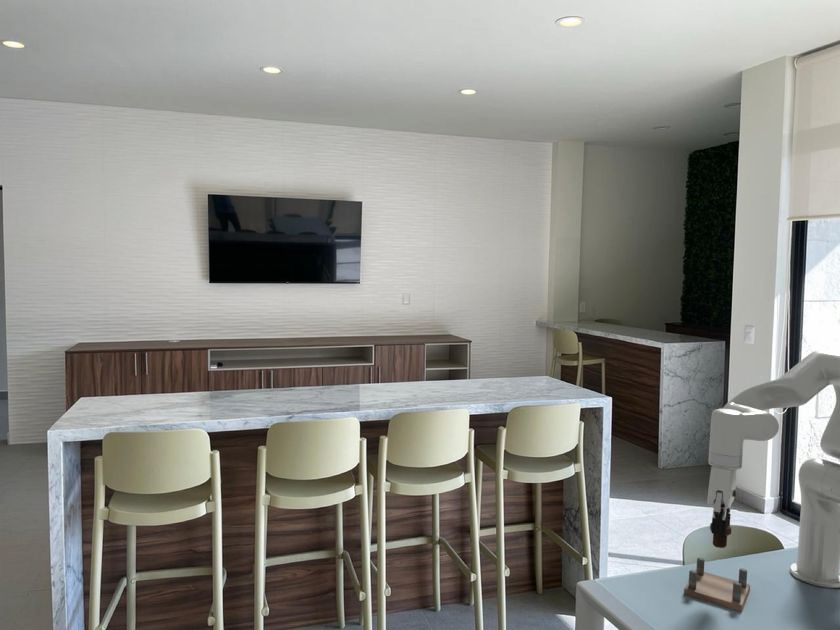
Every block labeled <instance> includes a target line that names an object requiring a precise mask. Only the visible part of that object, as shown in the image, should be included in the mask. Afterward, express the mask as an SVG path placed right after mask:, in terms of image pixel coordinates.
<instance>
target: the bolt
mask: <svg viewBox="0 0 840 630" xmlns="http://www.w3.org/2000/svg"><path fill="white" fill-rule="evenodd" d="M736 495H737V494H736V488H735V489H734V491H733V497H734V498H735V497H736ZM721 506H722V507H724V506H725V505H723V504H722V505H721ZM721 511H722V512H723V510H722V509H721ZM728 517H729V508H728V509H726V519H725V520H727V524H726V535H725V536H721V535H717V534H713V533H712V534H713V535H712V545H713V546H714V547H715V548H717V549H718V548H719V549H725V548H727V545H728V544H727V543H728V537H729V536H730V535H732V527H731V525H730V526H729V525H728ZM709 529H710V531H711V529H712V522H711V523H710V524H709Z"/></svg>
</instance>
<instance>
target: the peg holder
mask: <svg viewBox="0 0 840 630" xmlns="http://www.w3.org/2000/svg"><path fill="white" fill-rule="evenodd" d="M705 560H706V559H704V558H703V557H697V558H696V569H695V570H693V569H691V570H689V571H688V581H687V583H686V584H685V586H684V588H683V595H684V596H687V597H691V598H694V599H698V600H701V601H704V602H707V603H711V604H715V605H718V606H722V607H725V608H728V609H731V610H734V611H738V612H743V609H744V606H745V604H746V601H747V599H748V596H749V593H750V591H751V584H750V583H747V580H748V570H747V569H745V568H739V571H738V580H735V579H731V578H727V577H725V576H720V575H717V574H714V573H711V572H710V573H709V572H707V571H706V572H705Z"/></svg>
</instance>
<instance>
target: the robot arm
mask: <svg viewBox="0 0 840 630" xmlns="http://www.w3.org/2000/svg"><path fill="white" fill-rule="evenodd" d="M831 385H832V387H833V390H834V392H835V404H834V408H833V411H832V413H831V415H830V417H829V420H828V421H827V424H826V426H825V428H824V431H823V434H822V436H821V439H820V448H821V449H820V450H821V451H822V452H823V453H824V454H826V455H827V456H830V457H831V458H834V459H837V460H840V352H839V351H834V350H823V349H821V350H820V349H819V350H815V351H812V352H811V353H809V354H807V356H805V357H804V358H803V359H802V360H800V361H799V362H797V363H796V364H795V365H794V366H792V368H791V369H789V370H788V371H786V372H785V373H784V374H782V375H781V376H780V377H779V378H776V379H773V380H770V381H766V382H764V383H761V384H756V385H754V386H751V387H749V388H747V389H745V390H743V391H741V392H739V393H738V394H736V396H734V397H733V398H731V399H730V400H729V401H727V403H726V404H725V405H724V406H723V407H722V408H716V409H714V410H713V411H712V412H711V415H710V416H711V417H710V431H709V432H710V433H709V446H708V461H707V462H708V463H707V464H709V465H710V466H711V467H710V474H709V482H708V493H707V506H711V505H713V509H712V510H713V511H712V517H711V523H712V529H711V530H710V531H711V533H712V534H717V535H721V536H725V535H726V524H727V520H725V519H726V509H728V508H729V517H728V525H729V526H730V527H731V505H732V504H733V502H734V500H735V497H733V491H734V489H735V490H736V488H737V487H736V485H737V473H738V471H737V470H742V468H743V455H744V452H743V451H744V441H746V440H748V441H754V442H766V441H770V440H772V439H773V438H775V436H776V435H777V434H778V432H779V430H780V429H779V428H780V426H779V421H778V419H777V418H776V417H775V416H774V415H773V414H772V413H769V412H768V411H767V410H771V409H785V408H795V407H801V406H804V405H806V404H807V403H809V402H810V401H811V400H812V399H813V398H814V397H815V396H817V395H818V394H819V393H821V392H822V391H823V390H824V389H826V388H827V387H828V386H831ZM798 483H799V489H800V490H799V491H800V516H799V529H798V530H799V531H798V544H797V545H798V546H797V558H796V559H797V561H796V562H794V563H792V564H790V566H789V572H790V574H791V575H792V576H793V577H795V578H796V579H798V580H800V581H802V582H804V583H807V584H810V585H811V586H812V585H813V586H816V587H821V588H828V589H829V588H831V589H835V588H836V589H838V588H839V589H840V463H836V462H834V461H830V460H827V459H823V458H809V459H808V460H806V461H804V462H803V463H802V464H801V465H800V467H799V471H798ZM722 504H723V505H725V506H724V507H722V506H721V505H722ZM721 509H722V510H723V512H722V511H721Z"/></svg>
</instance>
